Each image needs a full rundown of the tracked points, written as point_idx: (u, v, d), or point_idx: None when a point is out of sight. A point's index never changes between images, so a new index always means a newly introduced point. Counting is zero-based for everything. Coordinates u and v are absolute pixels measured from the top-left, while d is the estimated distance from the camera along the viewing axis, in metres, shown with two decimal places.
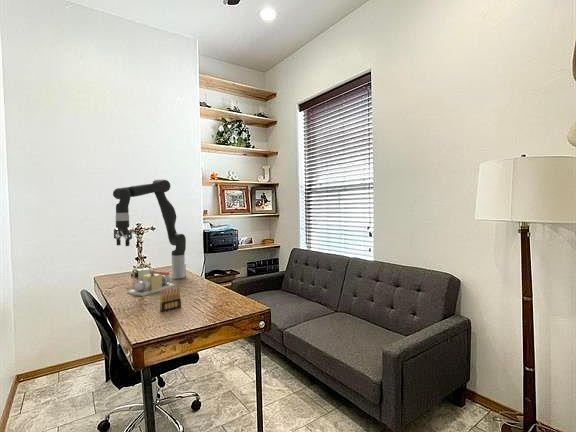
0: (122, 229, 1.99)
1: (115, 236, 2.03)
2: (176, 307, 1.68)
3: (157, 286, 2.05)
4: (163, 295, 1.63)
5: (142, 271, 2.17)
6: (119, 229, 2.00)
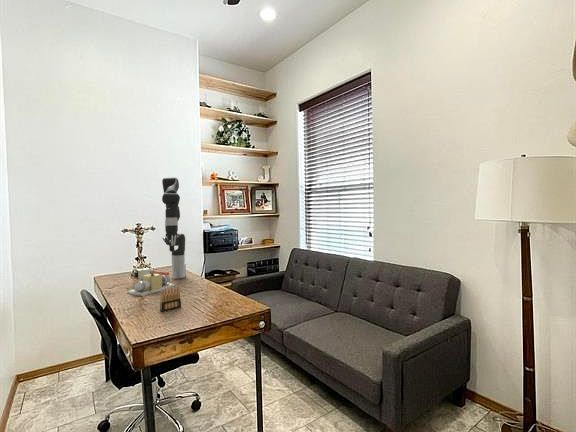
0: (174, 233, 2.06)
1: (169, 242, 2.02)
2: (176, 307, 1.68)
3: (157, 286, 2.05)
4: (163, 295, 1.63)
5: (142, 271, 2.17)
6: (171, 234, 2.03)
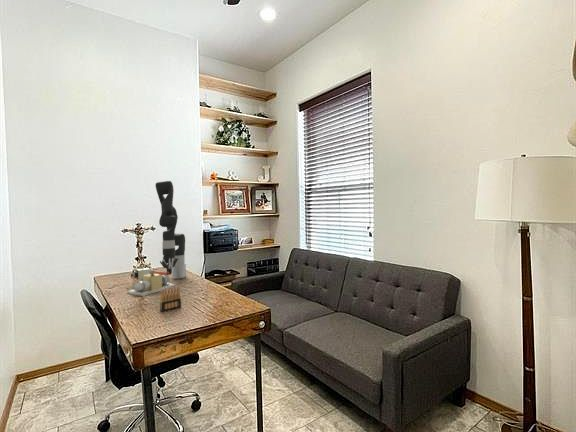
0: (172, 256, 2.04)
1: (166, 265, 2.01)
2: (176, 307, 1.68)
3: (157, 286, 2.05)
4: (163, 295, 1.63)
5: (142, 271, 2.17)
6: (168, 257, 2.01)
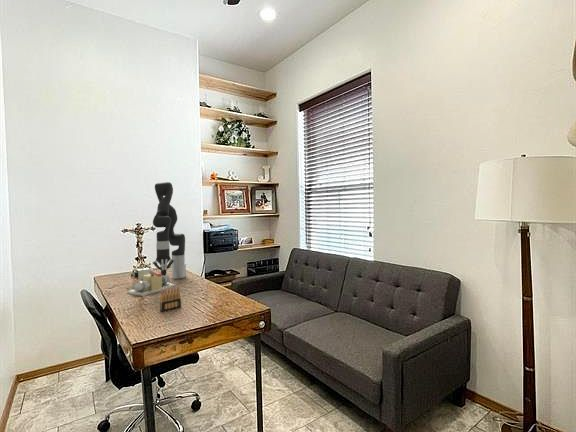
0: (166, 257, 1.99)
1: (159, 267, 1.97)
2: (176, 307, 1.68)
3: (157, 286, 2.05)
4: (163, 295, 1.63)
5: (142, 271, 2.17)
6: (161, 258, 1.97)
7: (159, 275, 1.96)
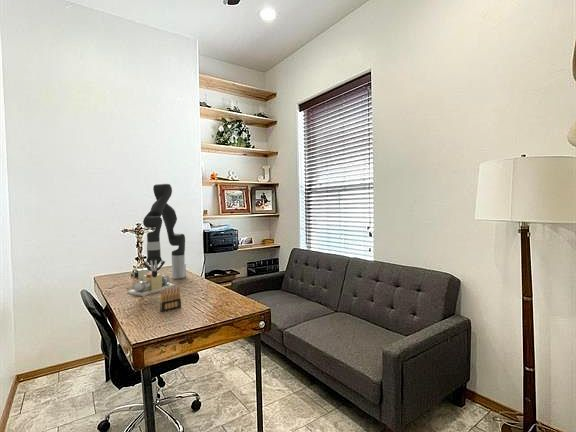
0: (156, 258, 1.94)
1: (149, 268, 1.94)
2: (176, 307, 1.68)
3: (157, 286, 2.05)
4: (163, 295, 1.63)
5: (142, 271, 2.17)
6: (151, 259, 1.94)
7: (148, 276, 1.93)
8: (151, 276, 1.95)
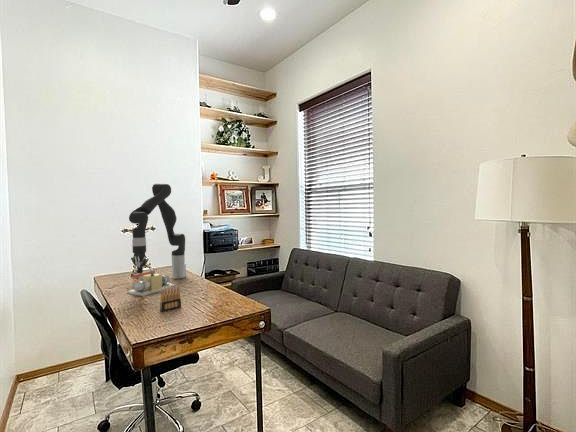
0: (139, 254, 1.92)
1: (135, 263, 1.94)
2: (176, 307, 1.68)
3: (157, 286, 2.05)
4: (163, 295, 1.63)
5: None
6: (136, 254, 1.93)
7: (134, 276, 1.94)
8: (138, 276, 1.95)
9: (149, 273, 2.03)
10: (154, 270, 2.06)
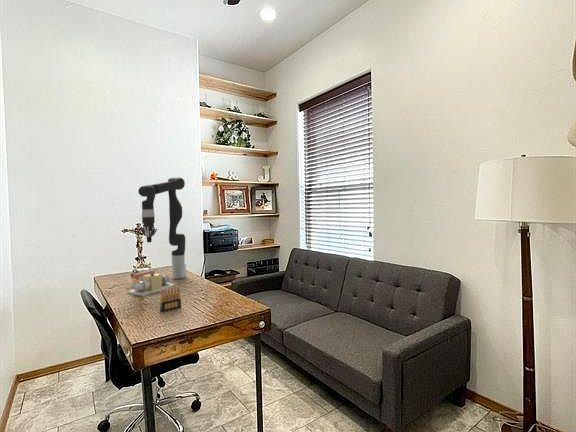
0: (148, 225, 2.10)
1: None
2: (176, 307, 1.68)
3: (157, 286, 2.05)
4: (163, 295, 1.63)
5: (142, 271, 2.17)
6: (145, 225, 2.11)
7: (134, 276, 1.94)
8: (138, 276, 1.95)
9: (149, 273, 2.03)
10: (154, 270, 2.06)
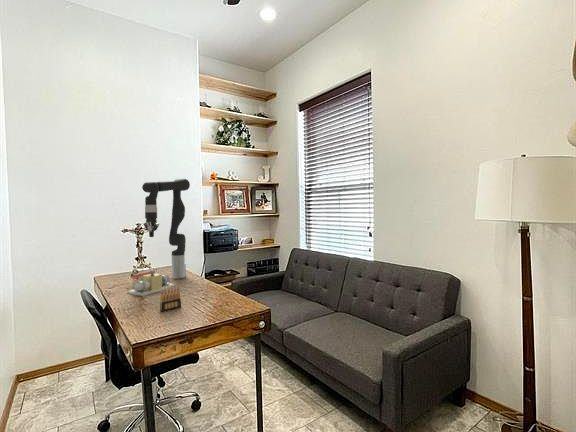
0: (151, 220, 2.15)
1: (147, 228, 2.18)
2: (176, 307, 1.68)
3: (157, 286, 2.05)
4: (163, 295, 1.63)
5: (142, 271, 2.17)
6: (148, 220, 2.17)
7: (134, 276, 1.94)
8: (138, 276, 1.95)
9: (149, 273, 2.03)
10: (154, 270, 2.06)
